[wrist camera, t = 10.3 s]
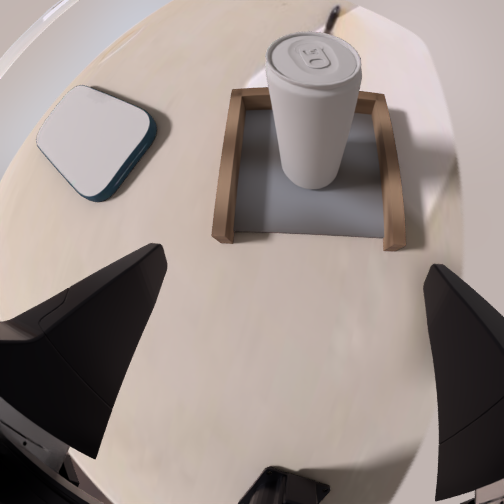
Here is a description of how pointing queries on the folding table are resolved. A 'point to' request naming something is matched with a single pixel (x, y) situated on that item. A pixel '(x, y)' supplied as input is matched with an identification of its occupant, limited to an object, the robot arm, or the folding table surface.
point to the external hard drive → (95, 140)
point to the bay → (300, 199)
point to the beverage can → (312, 103)
